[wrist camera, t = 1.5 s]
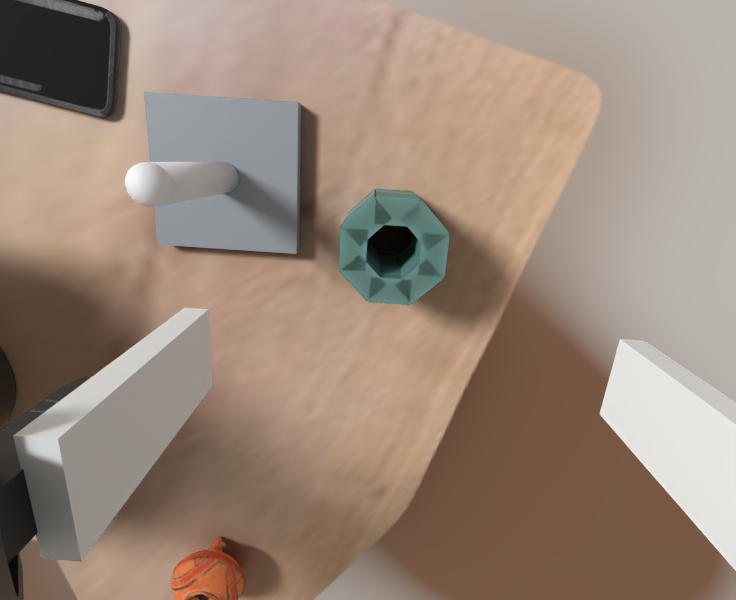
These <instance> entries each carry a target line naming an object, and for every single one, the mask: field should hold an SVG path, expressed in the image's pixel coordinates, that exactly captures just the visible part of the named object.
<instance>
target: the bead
mask: <svg viewBox="0 0 736 600" xmlns="http://www.w3.org/2000/svg"><path fill="white" fill-rule="evenodd" d="M384 225H393V226H407V227H408V228H409V229H410V230H411V232H412V234H411V244H410V245H409V246H408V247H407V248H406V249H405V250H403V251H402V252H401V253H400V254H399V255H397V256H391V255H379V254H378V252H377V251H376V250H375V249H374V248H373V247H372V246H371V244H370V243H369V242H368V239H369V238H370V237H371V236H372V235H373V234H375V233H376V232H377V231H378V230H379V229H380V228H381V227H383V226H384ZM449 238H450V235H449V232H448V231H447V230H446V229H445V227H444V226H443V225H442V224H441V222H440V221H439V220H438V219H437V218H436V216H435V215H434V214H433V213H432V212H431V210H430V209H429V208H428V207H427V205H426V204H425V203H424V202H423V201H422V200H421V199H420V198H419V197H418V196H417V195H415V194H414V193H413V192H411V191H400V190H385V189H376V191H375V189H374V190H373V191H372V192H371V193H370V194H369V195H368V196H367V197H366V198H364V199H363V200H362V201H361V202H360V203H359V204H358V205H357V206H356V207H354V208H353V209H352V210H351V211H350V212H349V213H348V215H347V217H346V219H345V220H344V222H343V224H342V226H341V231H340V254H339V270H340V271H339V272H340V273H341V274H342V275H343V276H344V277H345V278H346V279H347V280H348V281H349V282H350V283H351V285H352V286H353V287H354V288H355V289H356V290H357V291H358V292H359V293H360V294H361V295H362V296H363V298H364V299H365V300H366V301H368V300H369V302H372V303H387V304H402V305H410V303H411V304H413V303H414V302H415V301H416V300H418V299H419V298H420V297H421V296H422V295H424V294H425V293H426V292H427V291H429V290H430V289H431V288H432V287H434V286H435V285H436V284H437V283H439V282H440V281H441V280H442V279H444V278H443V277H445V270H446V262H447V254H448V246H449Z"/></svg>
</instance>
